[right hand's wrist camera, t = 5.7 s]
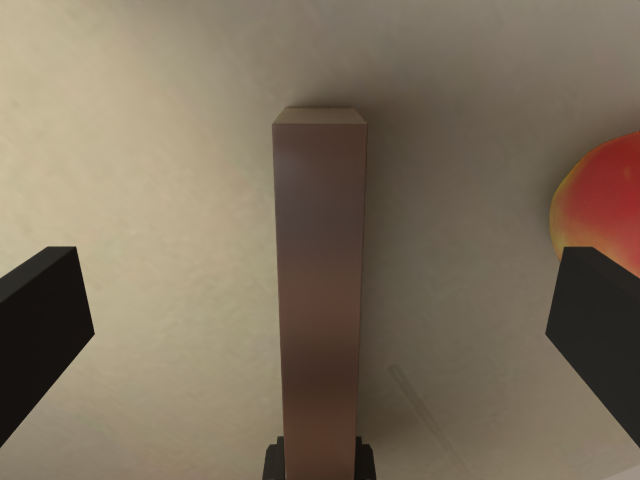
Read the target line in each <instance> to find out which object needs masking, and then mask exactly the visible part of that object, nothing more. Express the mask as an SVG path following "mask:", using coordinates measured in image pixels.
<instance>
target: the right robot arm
mask: <svg viewBox="0 0 640 480" xmlns="http://www.w3.org/2000/svg"><path fill="white" fill-rule="evenodd" d="M94 334H95V332H94V328H93V323H92V318H91V314H90V309H89V305H88V300H87V295H86V291H85V286H84V281H83V277H82V272H81V267H80V263H79V258H78V253H77V249H76V247H46V248H45V249H43V250H42V251H40V252H39V253H37V254H36V255H34V256H33V257H31V258H30V259H28V260H27V261H25V262H24V263H22V264H21V265H19V266H18V267H17V268H15V269H14V270H12V271H11V272H9V273H8V274H6V275H5V276H3V277H2V278H0V448H1V446H2V445H3V444H4V443H5V442H6V440H7V439H8V438H9V437H10V436H11V434H12V433H13V432H14V431H15V430H16V428H17V427H18V426H19V425H20V424H21V422H22V421H23V420H24V419H25V418H26V416H27V415H28V414H29V413H30V412H31V410H32V409H33V408H34V407H35V406H36V404H37V403H38V402H39V401H40V400H41V398H42V397H43V396H44V395H45V393H46V392H47V391H48V390H49V389H50V387H51V386H52V385H53V384H54V383H55V381H56V380H57V379H58V378H59V377H60V375H61V374H62V373H63V372H64V371H65V369H66V368H67V367H68V366H69V365H70V363H71V362H72V361H73V360H74V359H75V357H76V356H77V355H78V354H79V353H80V351H81V350H82V349H83V348H84V347H85V345H86V344H87V343H88V342H89V341H90V339H91V338H92V337H93V336H94ZM545 334H546V336H547V337H548V338H549V339H550V341H551V342H552V343H553V344H554V345H555V347H556V348H557V349H558V350H559V351H560V353H561V354H562V355H563V356H564V357H565V359H566V360H567V361H568V362H569V363H570V365H571V366H572V367H573V368H574V369H575V371H576V372H577V373H578V374H579V375H580V377H581V378H582V379H583V380H584V381H585V383H586V384H587V385H588V386H589V387H590V389H591V390H592V391H593V392H594V393H595V395H596V396H597V397H598V398H599V400H600V401H601V402H602V403H603V404H604V406H605V407H606V408H607V409H608V410H609V412H610V413H611V414H612V415H613V416H614V418H615V419H616V420H617V421H618V422H619V424H620V425H621V426H622V427H623V428H624V430H625V431H626V432H627V433H628V434H629V436H630V437H631V438H632V439H633V440H634V442H635V443H636V444H637V445H638V446H639V448H640V278H638V277H637V276H635V275H634V274H632V273H631V272H629V271H628V270H626V269H625V268H623V267H622V266H621V265H619V264H618V263H616V262H615V261H613V260H612V259H610V258H609V257H607V256H606V255H604V254H603V253H601V252H600V251H598V250H597V249H595V248H594V247H564V249H563V253H562V258H561V263H560V267H559V272H558V277H557V281H556V286H555V291H554V295H553V300H552V305H551V309H550V314H549V318H548V323H547V328H546V332H545Z"/></svg>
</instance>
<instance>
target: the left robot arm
mask: <svg viewBox="0 0 640 480" xmlns="http://www.w3.org/2000/svg"><path fill="white" fill-rule="evenodd" d="M262 480H286V479H285V453H284V436H278V438H277V444H270V445H269V447H268V449H267V450H266V457H265V464H264V471H263V478H262ZM354 480H376V472H375V465H374V458H373V450H372V449H371V447H370V445H369V444H362V439H361V436H356V445H355V471H354Z"/></svg>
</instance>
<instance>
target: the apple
mask: <svg viewBox="0 0 640 480" xmlns="http://www.w3.org/2000/svg"><path fill="white" fill-rule="evenodd" d="M549 228H550V235H551V240H552V244H553V247H554V250H555V252H556V255H557V257H558V259H559V261H560V263H561V258H562V253H563V249H564V247H594V248H595V249H597V250H598V251H600V252H601V253H603V254H604V255H606V256H607V257H609V258H610V259H612V260H613V261H615V262H616V263H618V264H619V265H621V266H622V267H623V268H625V269H626V270H628V271H629V272H631V273H632V274H634V275H635V276H637V277H638V278H640V131H637V132H634V133H630V134H627V135H624V136H621V137H618V138H615V139H612V140H609V141H607V142H605V143H603V144H601V145H599V146H597V147H596V148H594V149H593V150H591V151H590V152H588V153H587V154H586V155H585V156H584V157H583V158H582V159H581V160H580V161H579V162H578V163H577V164H576V165H575V166H574V168H573V169H572V170H571V171H570V172H569V173H568V175H567V176H566V177H565V178H564V180H563V181H562V182H561V184H560V185H559V187H558V188H557V190H556V192H555V194H554V196H553V199H552V201H551V206H550V218H549Z"/></svg>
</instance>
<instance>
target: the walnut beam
mask: <svg viewBox="0 0 640 480" xmlns="http://www.w3.org/2000/svg"><path fill="white" fill-rule="evenodd" d="M367 129H368V124H367V123H366V122H365V120H364V119H363V118H362V116H361V115H360V114H359V113H358V111H357V110H356V109H355V108H354V107H285V108H284V110H283V111H282V112H281V114H280V115H279V116H278V117H277V119H276V120H275V121H274V123H273V124H272V137H273V163H274V189H275V216H276V242H277V268H278V295H279V321H280V347H281V374H282V400H283V426H284V453H285V479H286V480H354V471H355V445H356V418H357V392H358V366H359V340H360V313H361V287H362V261H363V234H364V208H365V182H366V155H367Z"/></svg>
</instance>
